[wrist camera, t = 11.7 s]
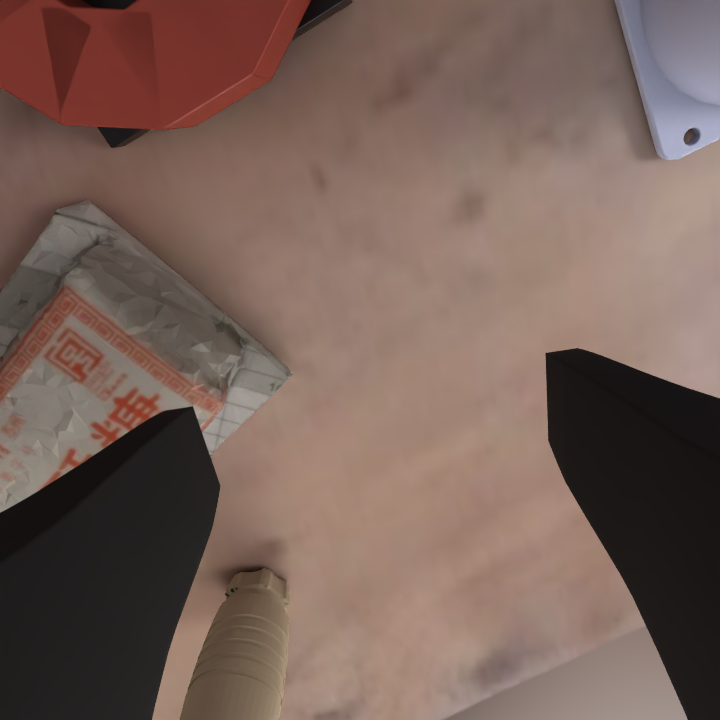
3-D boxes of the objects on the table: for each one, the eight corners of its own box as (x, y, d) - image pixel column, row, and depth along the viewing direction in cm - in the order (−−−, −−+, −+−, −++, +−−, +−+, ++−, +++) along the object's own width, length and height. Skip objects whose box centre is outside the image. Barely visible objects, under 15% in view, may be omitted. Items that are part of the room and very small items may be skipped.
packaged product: (2, 210, 15) (278, 426, 18) (86, 186, 19) (297, 363, 22) (-226, 556, 21) (10, 677, 23) (-121, 477, 25) (67, 587, 28)
